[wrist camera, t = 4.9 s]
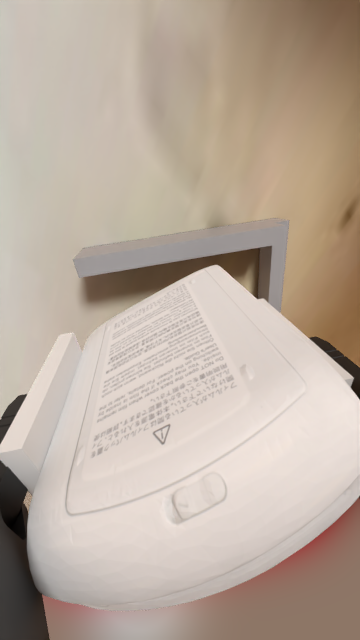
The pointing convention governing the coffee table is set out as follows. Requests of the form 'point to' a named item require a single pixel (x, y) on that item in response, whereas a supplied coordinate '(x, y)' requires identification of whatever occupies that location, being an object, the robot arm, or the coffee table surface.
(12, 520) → the robot arm
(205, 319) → the photo printer
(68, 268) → the coffee table surface
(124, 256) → the grey shelf rack
